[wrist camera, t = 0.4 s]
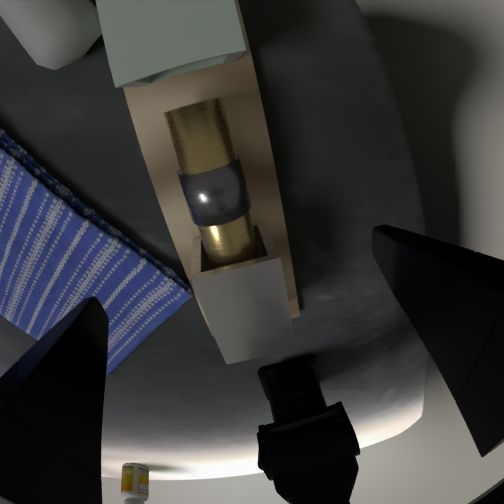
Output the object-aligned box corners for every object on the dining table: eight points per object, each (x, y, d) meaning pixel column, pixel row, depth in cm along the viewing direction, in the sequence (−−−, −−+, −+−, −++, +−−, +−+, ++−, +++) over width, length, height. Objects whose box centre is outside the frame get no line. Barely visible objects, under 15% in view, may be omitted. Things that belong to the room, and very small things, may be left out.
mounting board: (298, 311, 27) (300, 316, 26) (212, 332, 27) (213, 337, 26) (227, -32, 12) (228, -35, 12) (105, 3, 12) (103, 0, 12)
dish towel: (-15, 107, 14) (-37, 113, 11) (200, 279, 24) (200, 302, 22) (-57, 252, 19) (-70, 266, 16) (106, 372, 29) (101, 392, 27)
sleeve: (281, 304, 25) (296, 347, 21) (222, 318, 25) (226, 364, 21) (264, 220, 21) (280, 257, 17) (192, 238, 21) (190, 280, 17)
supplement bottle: (150, 465, 44) (150, 508, 36) (147, 472, 46) (147, 512, 38) (122, 460, 43) (120, 503, 34) (121, 467, 45) (120, 507, 37)
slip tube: (272, 303, 24) (281, 334, 21) (229, 313, 24) (233, 346, 21) (223, 95, 16) (227, 96, 13) (164, 111, 16) (154, 116, 13)
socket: (235, 60, 15) (246, 50, 11) (139, 87, 15) (115, 87, 11) (217, -14, 13) (221, -47, 8) (121, 13, 13) (94, -9, 8)
